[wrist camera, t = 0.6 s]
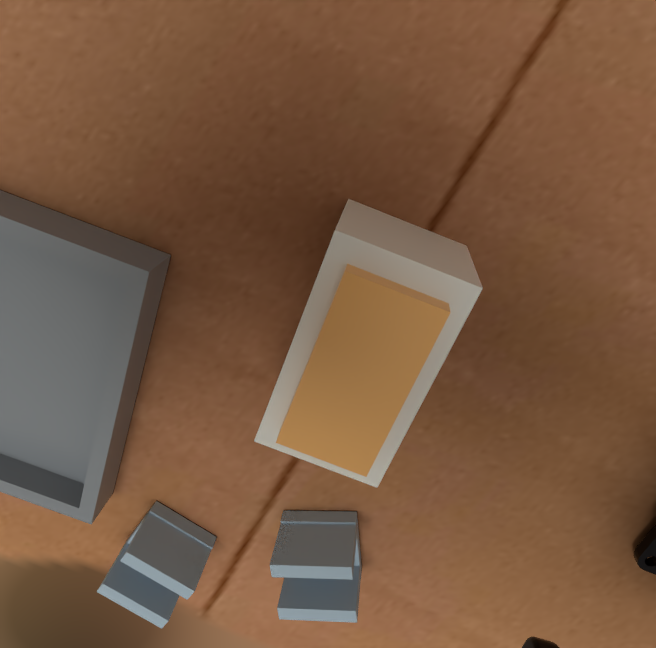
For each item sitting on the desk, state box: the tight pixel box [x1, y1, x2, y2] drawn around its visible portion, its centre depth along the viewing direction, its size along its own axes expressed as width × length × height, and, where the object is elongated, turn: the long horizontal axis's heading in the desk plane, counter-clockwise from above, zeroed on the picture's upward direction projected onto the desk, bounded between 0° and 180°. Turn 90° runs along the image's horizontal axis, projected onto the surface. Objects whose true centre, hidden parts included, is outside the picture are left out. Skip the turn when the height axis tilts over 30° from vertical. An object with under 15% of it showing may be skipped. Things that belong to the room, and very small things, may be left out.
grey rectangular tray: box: [0, 190, 171, 524], centre depth 20 cm, size 8×11×2 cm
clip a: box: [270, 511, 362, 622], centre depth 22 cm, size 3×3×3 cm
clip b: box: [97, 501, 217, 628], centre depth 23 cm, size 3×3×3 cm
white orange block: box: [254, 199, 483, 488], centre depth 17 cm, size 4×7×5 cm, turn 160°
